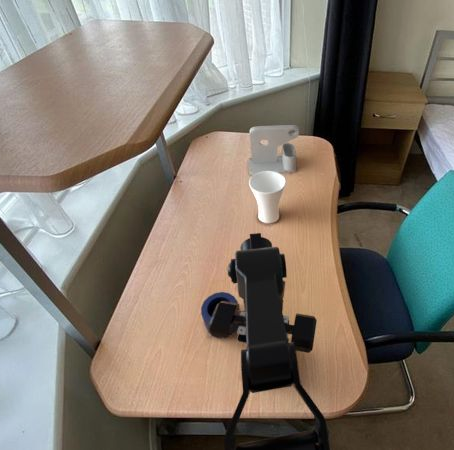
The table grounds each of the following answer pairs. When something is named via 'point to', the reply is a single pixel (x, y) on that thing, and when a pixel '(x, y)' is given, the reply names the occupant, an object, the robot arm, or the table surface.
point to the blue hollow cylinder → (211, 304)
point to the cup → (268, 194)
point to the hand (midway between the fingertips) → (265, 346)
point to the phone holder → (272, 149)
